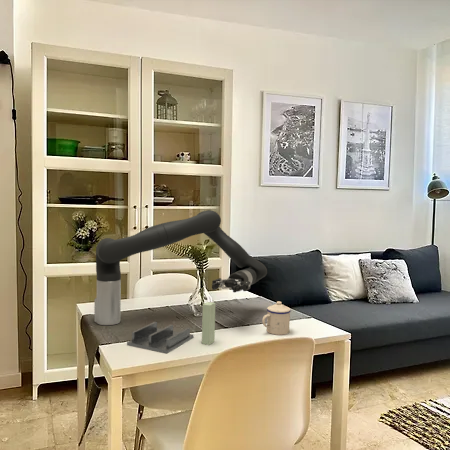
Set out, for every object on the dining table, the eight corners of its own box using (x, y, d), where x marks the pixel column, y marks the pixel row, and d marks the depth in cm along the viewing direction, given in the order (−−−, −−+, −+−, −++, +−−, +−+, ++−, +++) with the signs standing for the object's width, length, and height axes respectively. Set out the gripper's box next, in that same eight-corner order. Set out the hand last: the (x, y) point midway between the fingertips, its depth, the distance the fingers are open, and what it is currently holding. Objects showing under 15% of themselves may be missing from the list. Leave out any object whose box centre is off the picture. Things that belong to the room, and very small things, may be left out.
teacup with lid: (279, 326, 179) (280, 297, 178) (294, 333, 171) (296, 303, 170) (255, 330, 172) (256, 301, 172) (269, 338, 165) (270, 307, 164)
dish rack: (127, 344, 153) (127, 333, 153) (156, 330, 170) (156, 320, 169) (166, 353, 147) (167, 341, 146) (193, 337, 163) (193, 326, 162)
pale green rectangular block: (201, 343, 157) (202, 304, 156) (206, 340, 161) (207, 301, 159) (209, 344, 156) (210, 305, 154) (214, 341, 159) (215, 302, 158)
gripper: (224, 269, 184) (206, 276, 169) (257, 272, 178) (241, 280, 163) (224, 287, 185) (206, 296, 170) (256, 291, 179) (240, 300, 164)
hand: (223, 288), depth 167 cm, fingers open, 8 cm apart
